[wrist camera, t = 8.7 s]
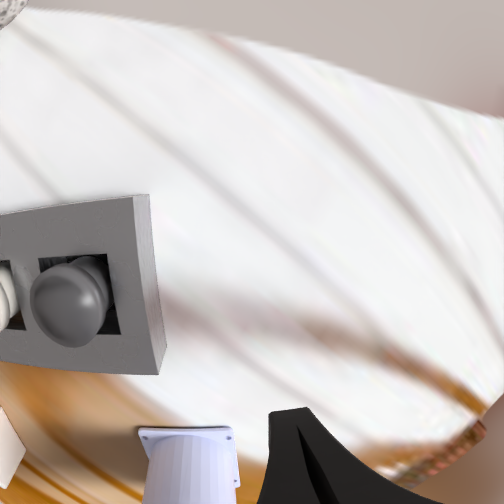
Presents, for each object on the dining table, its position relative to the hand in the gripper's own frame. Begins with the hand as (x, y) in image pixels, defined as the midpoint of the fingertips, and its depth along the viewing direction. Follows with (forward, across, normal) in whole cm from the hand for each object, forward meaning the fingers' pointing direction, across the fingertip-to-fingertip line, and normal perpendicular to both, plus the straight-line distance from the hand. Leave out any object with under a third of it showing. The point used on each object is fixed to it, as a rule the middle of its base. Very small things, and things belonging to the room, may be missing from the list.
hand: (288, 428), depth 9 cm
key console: (+10, +17, -3) cm, 20 cm away
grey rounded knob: (+9, +10, -3) cm, 14 cm away
